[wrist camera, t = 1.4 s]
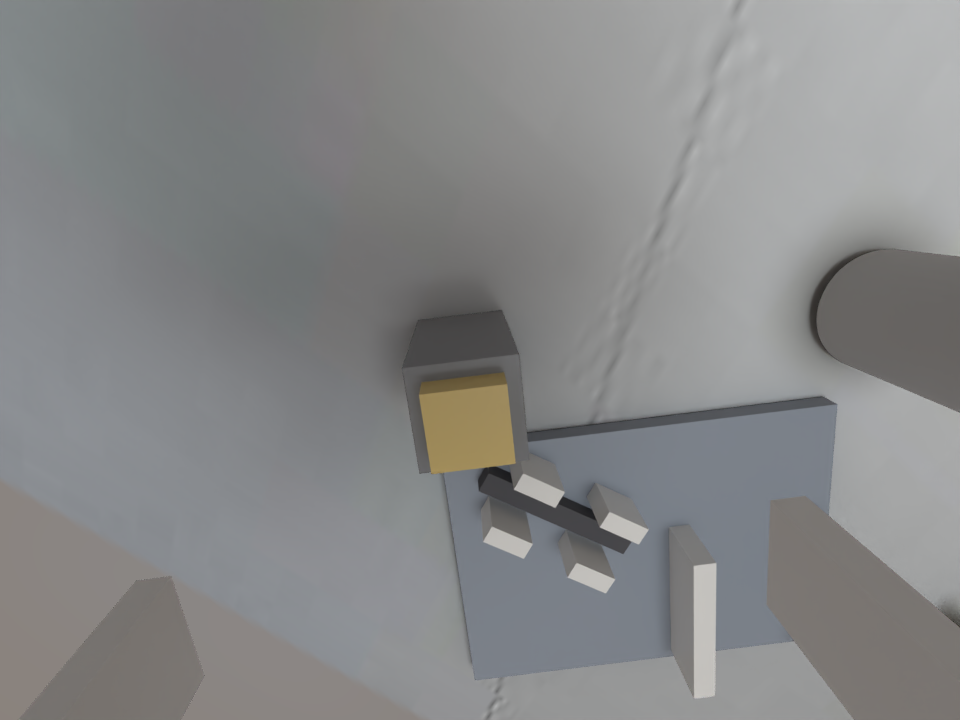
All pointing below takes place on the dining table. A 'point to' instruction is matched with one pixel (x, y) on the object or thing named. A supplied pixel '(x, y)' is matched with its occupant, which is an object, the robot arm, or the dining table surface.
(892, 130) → the dining table surface
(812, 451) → the board
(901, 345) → the beverage can
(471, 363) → the connector plug
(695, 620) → the end holder
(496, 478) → the bar
